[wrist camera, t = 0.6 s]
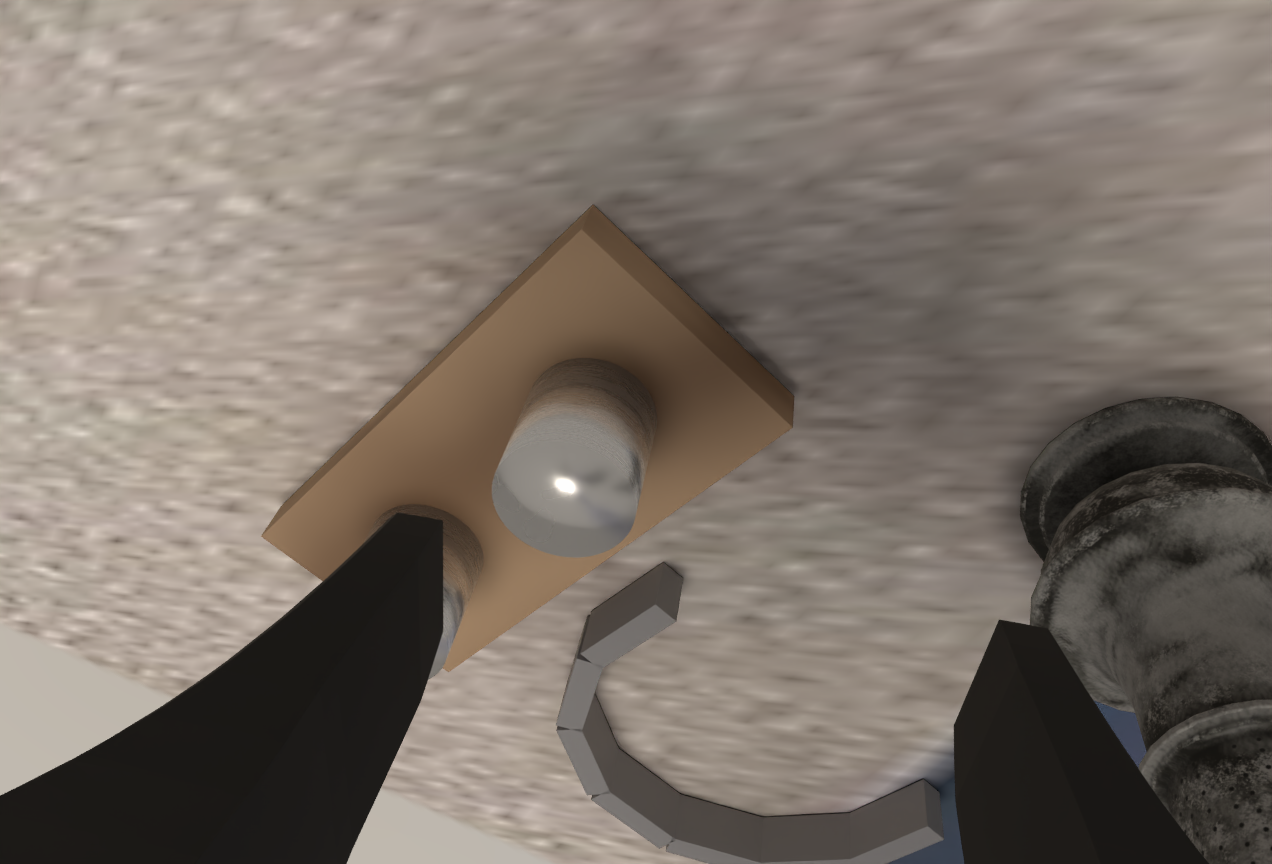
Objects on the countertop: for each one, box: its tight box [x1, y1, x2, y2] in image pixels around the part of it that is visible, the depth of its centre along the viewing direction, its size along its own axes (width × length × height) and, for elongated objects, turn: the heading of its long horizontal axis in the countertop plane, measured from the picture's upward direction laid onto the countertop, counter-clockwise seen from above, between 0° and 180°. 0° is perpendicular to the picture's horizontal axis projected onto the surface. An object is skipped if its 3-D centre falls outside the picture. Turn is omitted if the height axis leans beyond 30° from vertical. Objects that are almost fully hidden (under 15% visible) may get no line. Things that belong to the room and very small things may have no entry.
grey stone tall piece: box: [1020, 397, 1272, 864], centre depth 18 cm, size 6×6×12 cm
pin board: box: [261, 205, 794, 679], centre depth 23 cm, size 6×12×4 cm, turn 136°
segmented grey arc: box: [556, 562, 944, 864], centre depth 29 cm, size 11×7×2 cm, turn 46°
